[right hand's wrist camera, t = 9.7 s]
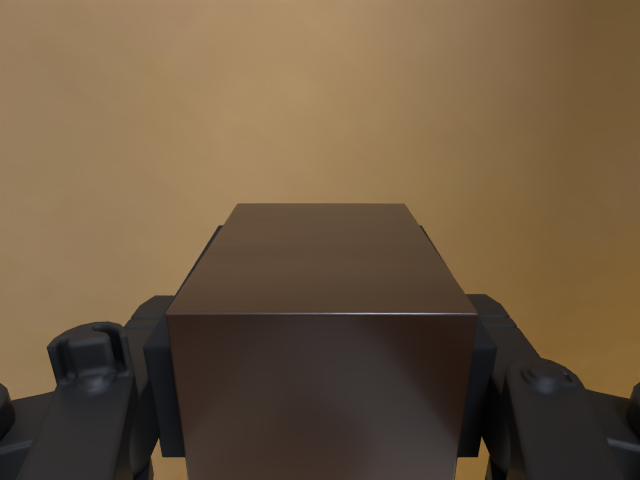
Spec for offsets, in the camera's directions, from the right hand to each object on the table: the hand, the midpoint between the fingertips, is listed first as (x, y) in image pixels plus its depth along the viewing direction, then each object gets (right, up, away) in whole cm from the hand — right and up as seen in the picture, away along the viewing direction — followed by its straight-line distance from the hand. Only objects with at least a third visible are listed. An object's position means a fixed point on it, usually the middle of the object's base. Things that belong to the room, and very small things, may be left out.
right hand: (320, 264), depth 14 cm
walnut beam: (0, -14, +4) cm, 15 cm away
